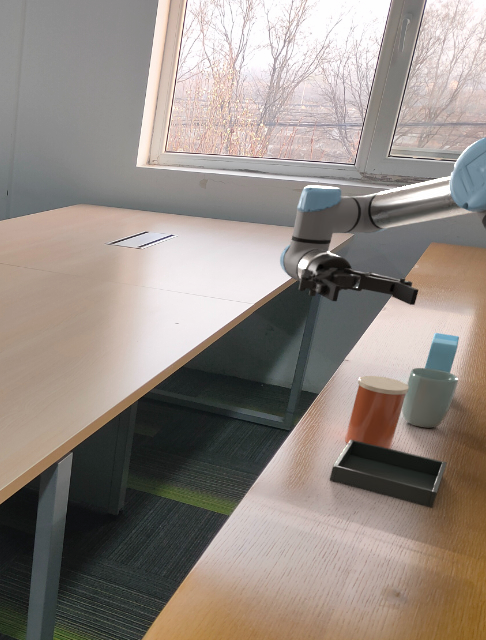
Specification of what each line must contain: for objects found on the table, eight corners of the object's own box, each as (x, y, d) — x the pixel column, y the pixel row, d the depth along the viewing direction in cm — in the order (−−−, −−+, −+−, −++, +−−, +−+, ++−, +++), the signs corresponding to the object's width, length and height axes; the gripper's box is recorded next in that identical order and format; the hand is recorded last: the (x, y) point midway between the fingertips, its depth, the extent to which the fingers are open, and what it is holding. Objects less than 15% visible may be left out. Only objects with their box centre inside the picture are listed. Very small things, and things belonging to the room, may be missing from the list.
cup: (447, 434, 149) (463, 383, 145) (400, 427, 151) (415, 377, 148) (438, 420, 156) (453, 371, 152) (394, 413, 158) (407, 365, 154)
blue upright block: (441, 403, 165) (457, 347, 161) (416, 398, 168) (431, 343, 163) (443, 388, 175) (459, 334, 170) (420, 383, 177) (435, 331, 172)
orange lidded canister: (394, 446, 142) (411, 382, 138) (387, 459, 137) (405, 393, 132) (347, 435, 147) (363, 372, 142) (339, 447, 141) (355, 383, 136)
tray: (441, 479, 130) (446, 462, 129) (431, 511, 119) (436, 492, 118) (346, 455, 138) (350, 439, 136) (328, 483, 127) (333, 465, 126)
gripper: (383, 293, 162) (441, 319, 142) (258, 287, 163) (299, 312, 143) (392, 256, 159) (453, 277, 140) (266, 250, 160) (308, 271, 140)
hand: (375, 295), depth 141 cm, fingers open, 13 cm apart
